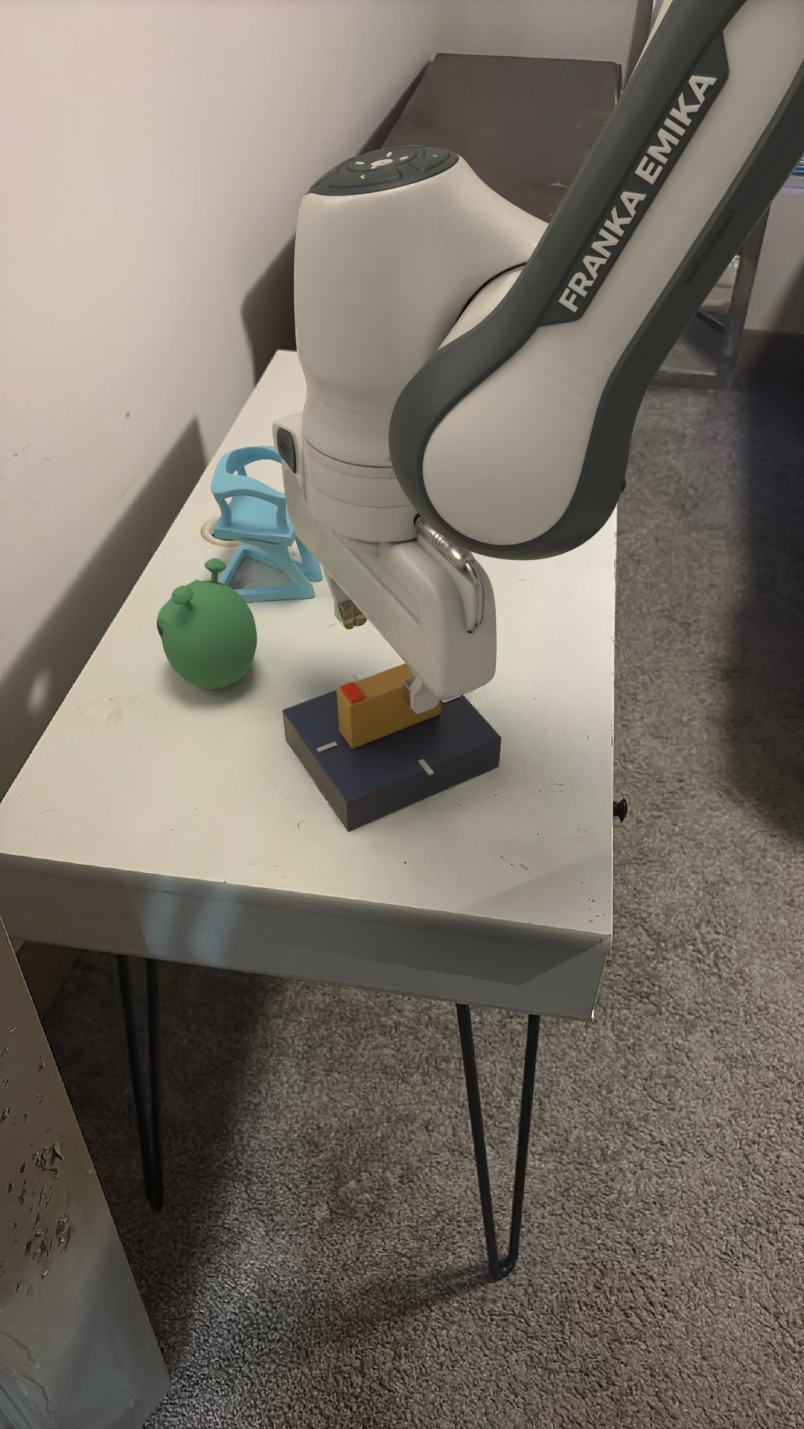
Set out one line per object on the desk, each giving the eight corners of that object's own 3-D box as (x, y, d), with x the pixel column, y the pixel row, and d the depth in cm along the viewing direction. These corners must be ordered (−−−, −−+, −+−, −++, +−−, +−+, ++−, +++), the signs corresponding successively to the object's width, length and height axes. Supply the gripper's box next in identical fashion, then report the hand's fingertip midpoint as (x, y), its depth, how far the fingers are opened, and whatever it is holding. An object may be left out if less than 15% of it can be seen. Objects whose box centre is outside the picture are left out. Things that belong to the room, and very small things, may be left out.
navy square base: (423, 680, 77) (424, 649, 75) (504, 772, 70) (507, 741, 68) (281, 734, 73) (277, 702, 71) (352, 838, 66) (350, 807, 64)
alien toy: (197, 637, 81) (177, 533, 74) (279, 664, 79) (266, 558, 72) (145, 690, 76) (119, 584, 70) (231, 720, 74) (212, 613, 67)
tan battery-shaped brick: (426, 697, 71) (427, 651, 68) (440, 714, 70) (442, 668, 67) (338, 731, 69) (335, 685, 66) (352, 749, 68) (349, 703, 65)
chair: (306, 615, 83) (295, 489, 75) (211, 603, 84) (190, 477, 76) (330, 562, 88) (321, 439, 80) (240, 552, 90) (223, 429, 81)
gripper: (537, 552, 51) (513, 743, 60) (350, 389, 63) (355, 568, 73) (429, 588, 48) (423, 781, 58) (259, 411, 61) (276, 593, 71)
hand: (384, 661), depth 66 cm, fingers open, 8 cm apart
